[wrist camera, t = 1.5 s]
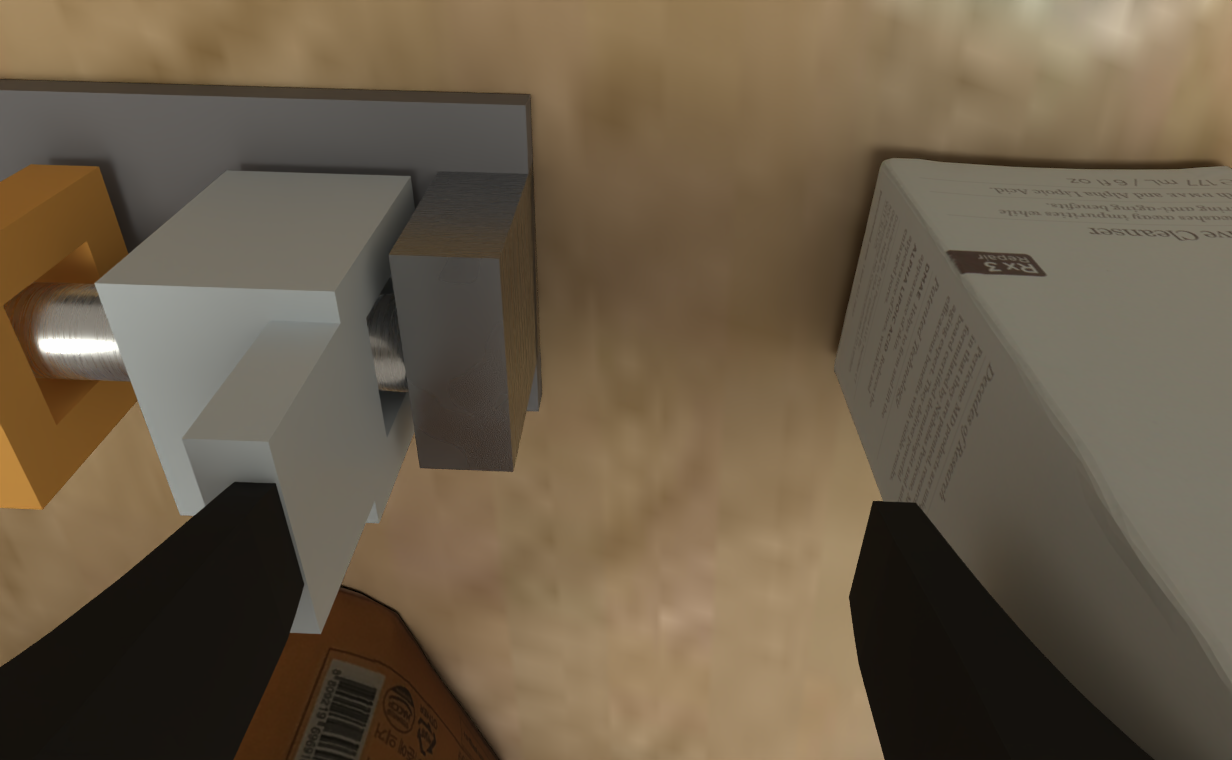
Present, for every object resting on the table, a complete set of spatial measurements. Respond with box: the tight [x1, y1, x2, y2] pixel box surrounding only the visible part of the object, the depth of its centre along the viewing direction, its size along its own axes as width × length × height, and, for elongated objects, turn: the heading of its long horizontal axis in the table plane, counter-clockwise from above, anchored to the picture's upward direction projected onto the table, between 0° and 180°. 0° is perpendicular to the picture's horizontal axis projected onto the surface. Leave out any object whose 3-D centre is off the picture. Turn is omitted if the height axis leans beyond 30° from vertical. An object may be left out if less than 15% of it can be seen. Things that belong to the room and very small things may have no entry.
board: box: [0, 79, 542, 411], centre depth 21 cm, size 26×8×1 cm, turn 89°
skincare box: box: [834, 158, 1232, 760], centre depth 14 cm, size 8×6×15 cm
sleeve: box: [94, 170, 415, 634], centre depth 16 cm, size 4×5×8 cm
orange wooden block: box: [0, 164, 137, 510], centre depth 18 cm, size 2×5×5 cm, turn 179°
